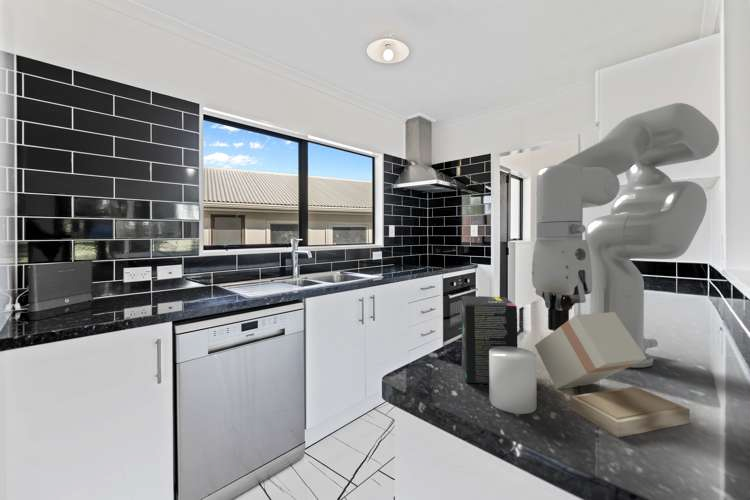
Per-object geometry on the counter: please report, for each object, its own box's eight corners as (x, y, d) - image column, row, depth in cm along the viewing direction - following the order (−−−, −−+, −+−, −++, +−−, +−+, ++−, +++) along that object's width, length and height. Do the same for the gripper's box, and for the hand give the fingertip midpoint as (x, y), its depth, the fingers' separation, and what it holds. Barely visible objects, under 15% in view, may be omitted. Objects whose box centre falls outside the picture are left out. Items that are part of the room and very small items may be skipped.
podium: (634, 398, 53) (634, 385, 52) (689, 423, 45) (689, 407, 45) (569, 409, 49) (569, 395, 49) (617, 437, 42) (617, 421, 42)
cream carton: (569, 341, 63) (614, 311, 54) (592, 383, 58) (647, 358, 49) (534, 345, 61) (575, 315, 52) (556, 389, 56) (605, 363, 47)
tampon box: (519, 388, 57) (519, 305, 56) (465, 384, 59) (464, 304, 58) (506, 365, 67) (506, 295, 67) (461, 362, 69) (461, 294, 69)
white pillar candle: (516, 390, 56) (516, 344, 56) (547, 410, 49) (547, 358, 49) (480, 395, 54) (480, 348, 54) (507, 416, 47) (507, 363, 47)
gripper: (612, 231, 54) (612, 340, 54) (545, 234, 68) (545, 320, 69) (575, 231, 52) (575, 343, 52) (515, 234, 67) (514, 322, 67)
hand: (558, 329), depth 60 cm, fingers closed
